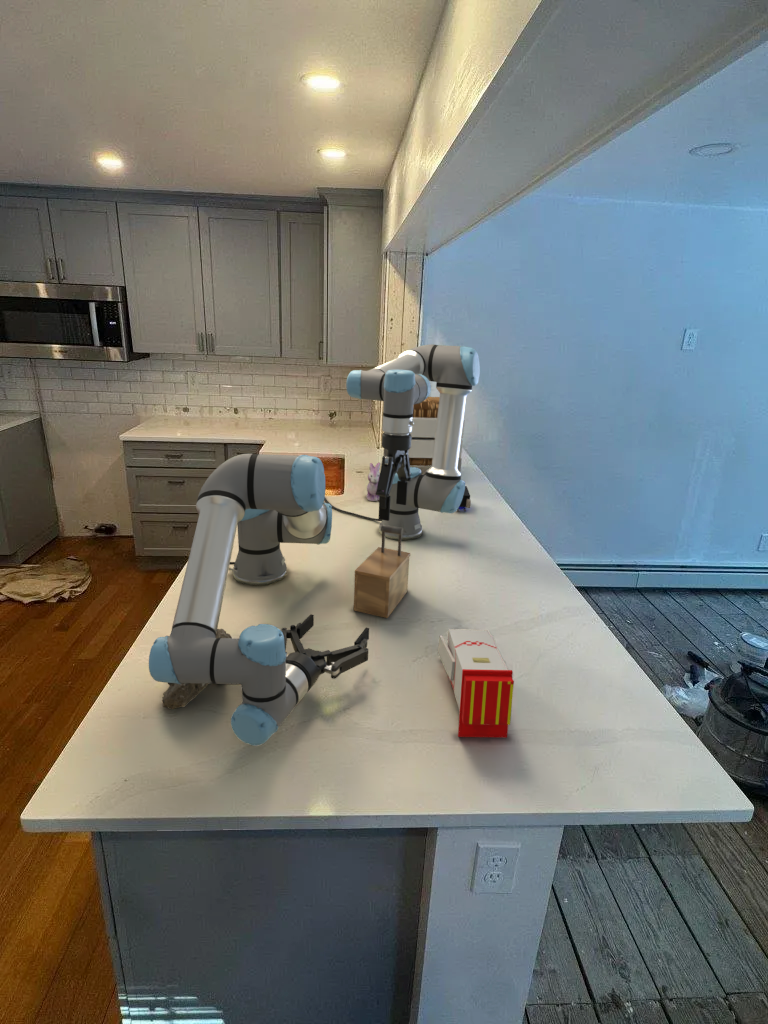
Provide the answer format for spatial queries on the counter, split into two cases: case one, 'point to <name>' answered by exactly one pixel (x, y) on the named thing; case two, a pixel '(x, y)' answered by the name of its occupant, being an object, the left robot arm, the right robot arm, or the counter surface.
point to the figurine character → (465, 500)
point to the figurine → (373, 482)
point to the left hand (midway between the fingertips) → (339, 626)
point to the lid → (384, 558)
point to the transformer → (425, 433)
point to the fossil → (186, 687)
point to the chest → (380, 592)
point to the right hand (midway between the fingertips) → (392, 511)
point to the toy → (478, 682)
